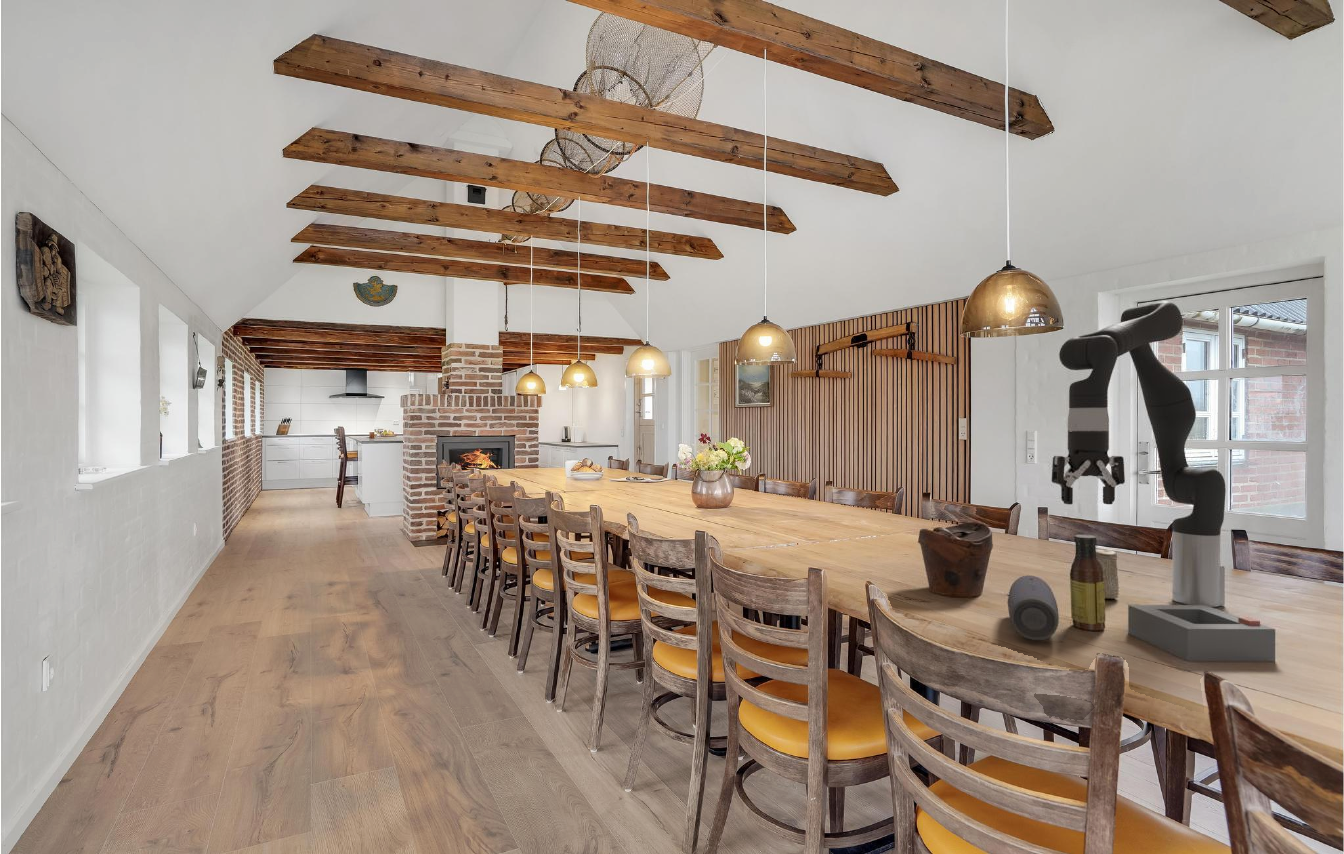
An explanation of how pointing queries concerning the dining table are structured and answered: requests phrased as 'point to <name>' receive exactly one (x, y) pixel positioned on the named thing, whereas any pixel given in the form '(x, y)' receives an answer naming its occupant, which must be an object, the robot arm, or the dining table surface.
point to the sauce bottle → (1087, 586)
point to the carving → (1109, 572)
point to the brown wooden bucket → (956, 558)
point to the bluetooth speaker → (1033, 608)
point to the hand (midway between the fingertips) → (1087, 504)
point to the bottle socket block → (1202, 633)
